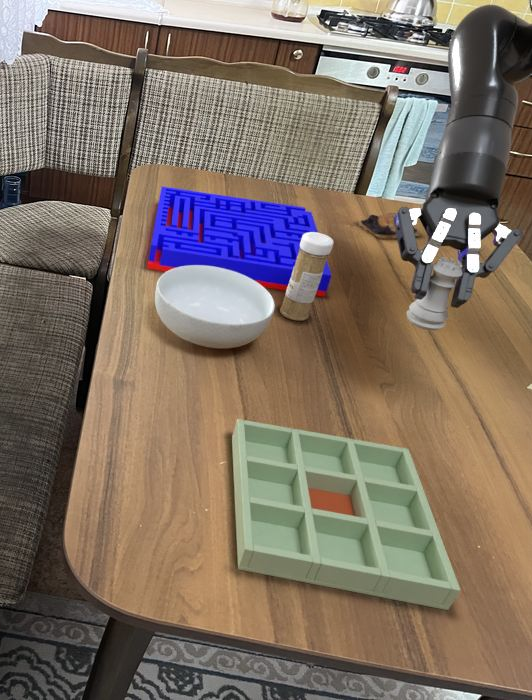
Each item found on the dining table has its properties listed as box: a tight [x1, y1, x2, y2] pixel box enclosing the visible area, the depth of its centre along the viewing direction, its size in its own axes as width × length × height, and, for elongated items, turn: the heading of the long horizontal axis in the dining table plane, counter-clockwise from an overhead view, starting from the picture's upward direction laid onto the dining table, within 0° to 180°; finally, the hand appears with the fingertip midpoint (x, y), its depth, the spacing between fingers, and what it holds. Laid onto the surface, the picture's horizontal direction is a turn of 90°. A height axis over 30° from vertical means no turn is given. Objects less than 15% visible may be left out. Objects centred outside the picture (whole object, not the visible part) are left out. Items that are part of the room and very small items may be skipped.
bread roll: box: [358, 212, 422, 240], centre depth 141 cm, size 11×8×4 cm
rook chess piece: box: [405, 256, 463, 331], centre depth 80 cm, size 4×4×8 cm
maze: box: [146, 186, 333, 298], centre depth 127 cm, size 30×30×4 cm
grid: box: [231, 418, 461, 611], centre depth 72 cm, size 20×20×3 cm
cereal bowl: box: [154, 265, 276, 349], centre depth 100 cm, size 17×17×7 cm
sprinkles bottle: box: [279, 232, 335, 322], centre depth 105 cm, size 5×5×13 cm
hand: (438, 300), depth 78 cm, fingers closed on rook chess piece, 3 cm apart
